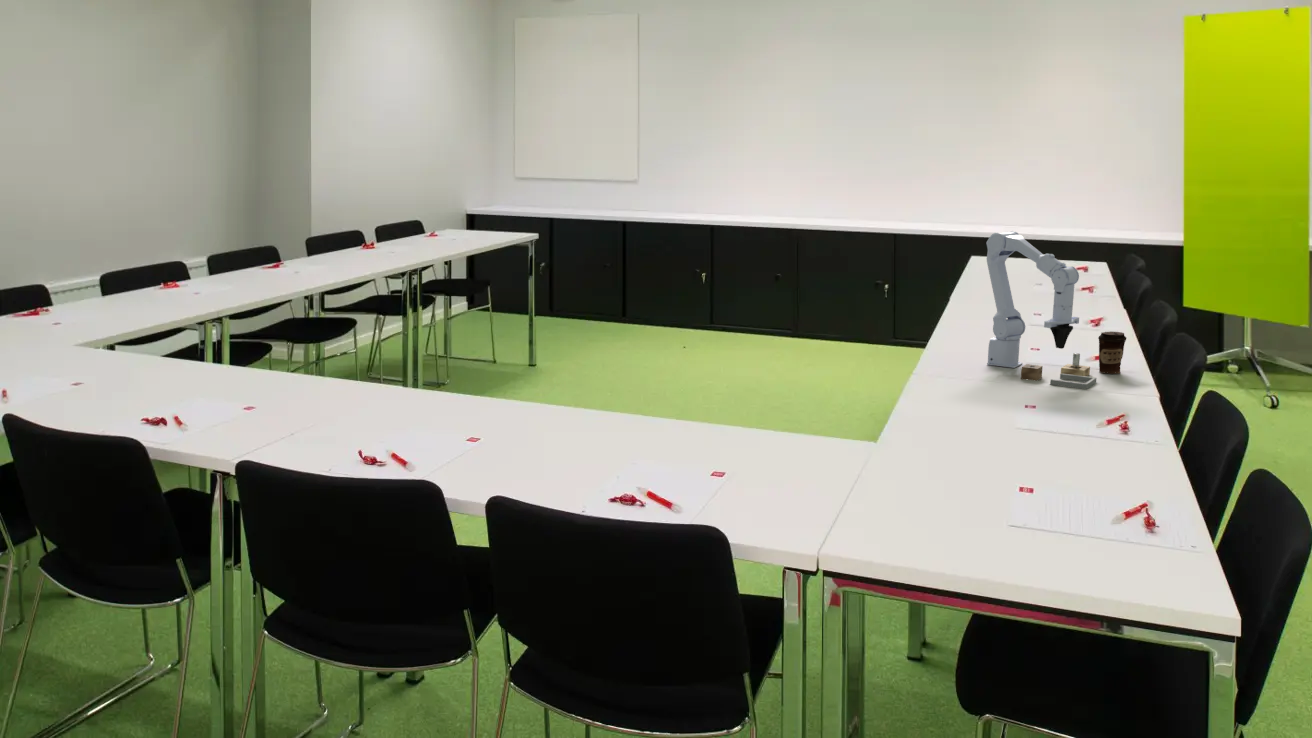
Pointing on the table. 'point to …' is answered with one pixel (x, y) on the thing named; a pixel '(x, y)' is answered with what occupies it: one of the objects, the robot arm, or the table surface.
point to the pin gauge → (1076, 360)
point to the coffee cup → (1111, 351)
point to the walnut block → (1031, 372)
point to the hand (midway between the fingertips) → (1059, 347)
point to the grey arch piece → (1088, 380)
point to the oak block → (1075, 370)
